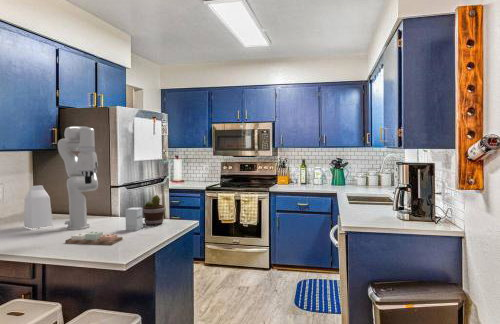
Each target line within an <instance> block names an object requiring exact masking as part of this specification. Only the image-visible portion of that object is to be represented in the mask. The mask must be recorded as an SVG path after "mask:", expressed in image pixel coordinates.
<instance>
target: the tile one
mask: <svg viewBox="0 0 500 324" xmlns="http://www.w3.org/2000/svg"><path fill="white" fill-rule="evenodd" d="M87 233H88V232H87ZM87 233H86V232H84V233H83V232H79V233H75V234H73V235H71V237H70V238H71V240H83V239H85V234H87Z"/></svg>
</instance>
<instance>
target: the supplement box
mask: <svg viewBox="0 0 500 324" xmlns="http://www.w3.org/2000/svg"><path fill="white" fill-rule="evenodd" d="M142 208H143V207H129V208H125V211H124V212H125V231H131V232H134V231H135V232H136V231H138V230H141V229H143V228H144V227H143V226H144V225H143V221H144V219H143V217H144V216H143V212H142Z"/></svg>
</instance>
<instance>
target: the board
mask: <svg viewBox="0 0 500 324" xmlns="http://www.w3.org/2000/svg"><path fill="white" fill-rule="evenodd" d="M123 239H124V238H123V236H117V238H116V239H114V240H112V241H100V239H98V240H85V239H83V240H71V237H70V238H68V239H66V240H65V241H64V243H65V244H71V245H72V244H74V245H75V244H79V245H81V244H82V245H103V246H104V245H105V246H113V245H115V244H117V243H119V242H122V241H123Z"/></svg>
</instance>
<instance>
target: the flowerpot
mask: <svg viewBox="0 0 500 324" xmlns="http://www.w3.org/2000/svg"><path fill="white" fill-rule="evenodd" d="M150 200H151V201H149V200H148V201H146V202H145V205H143V206H142V207H141V208H142V214H143V217H144V219H143V221H144V223H145V225H146V226H158V225H162V224H163V223H164V220H165V219H164V215H165V214H164V213H165V212H166V206H165V205H164V204H161V200H162V198H161V197H159V194H157V193H156V194H154V196H153V197H152V198H151V199H150Z"/></svg>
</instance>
